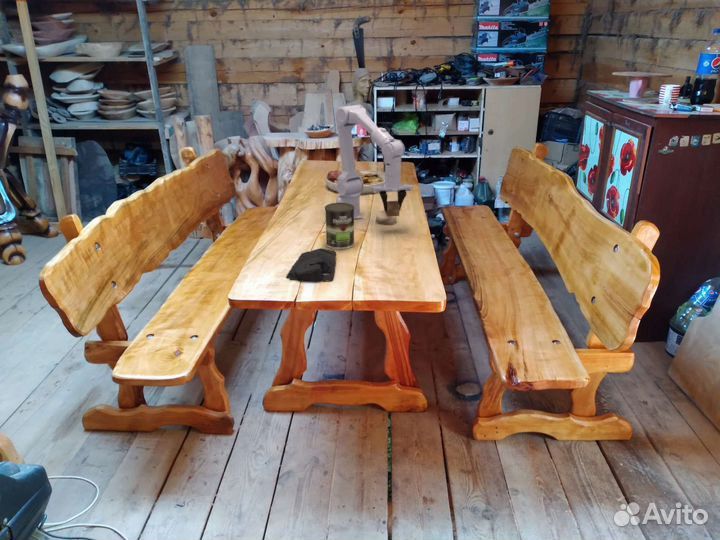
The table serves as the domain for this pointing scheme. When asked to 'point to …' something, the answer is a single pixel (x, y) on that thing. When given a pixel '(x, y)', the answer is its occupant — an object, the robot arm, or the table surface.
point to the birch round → (385, 218)
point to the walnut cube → (392, 208)
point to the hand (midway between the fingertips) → (392, 210)
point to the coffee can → (339, 225)
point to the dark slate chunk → (314, 266)
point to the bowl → (367, 177)
